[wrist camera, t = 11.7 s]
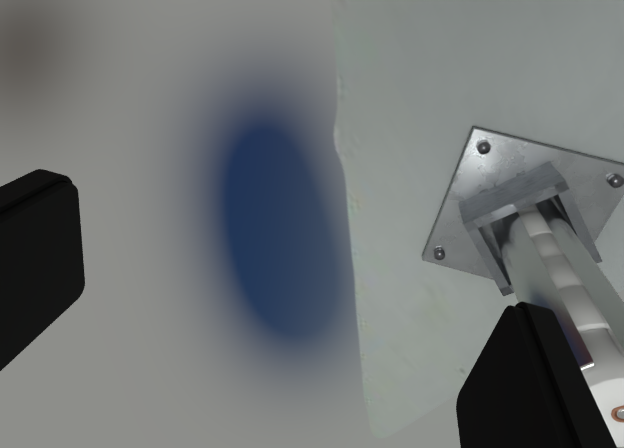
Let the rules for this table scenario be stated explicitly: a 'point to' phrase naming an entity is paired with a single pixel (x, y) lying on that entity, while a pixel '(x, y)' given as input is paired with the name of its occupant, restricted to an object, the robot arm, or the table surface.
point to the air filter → (569, 298)
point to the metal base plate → (518, 199)
